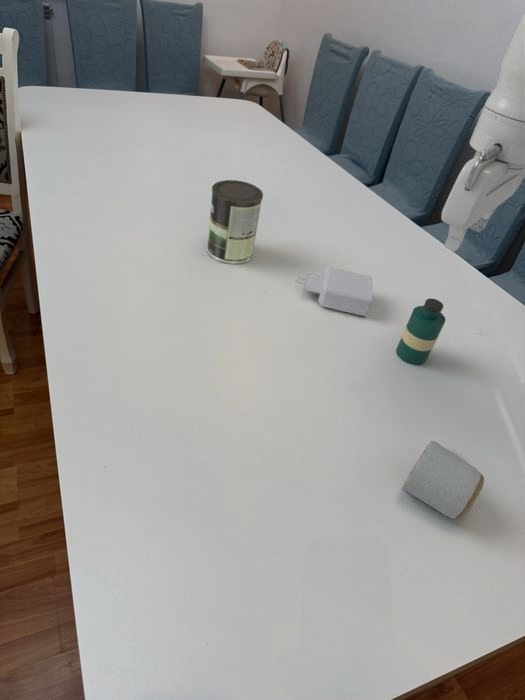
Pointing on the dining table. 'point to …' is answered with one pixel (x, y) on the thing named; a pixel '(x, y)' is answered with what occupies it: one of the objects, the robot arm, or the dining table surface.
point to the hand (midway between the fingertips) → (464, 238)
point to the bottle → (421, 332)
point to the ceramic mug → (444, 481)
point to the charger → (341, 290)
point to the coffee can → (233, 221)
